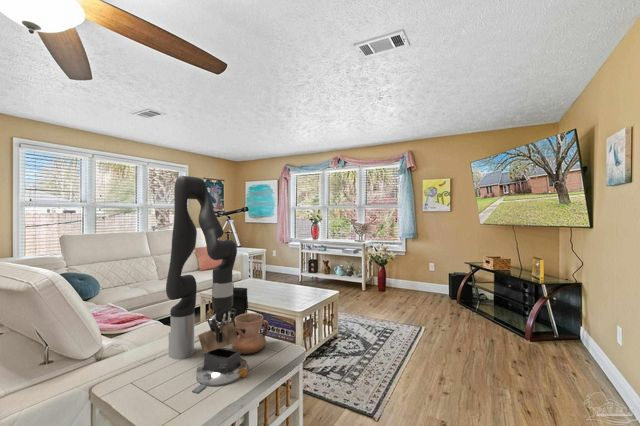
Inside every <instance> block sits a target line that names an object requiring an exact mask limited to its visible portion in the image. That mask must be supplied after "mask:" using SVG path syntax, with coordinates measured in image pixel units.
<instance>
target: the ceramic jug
mask: <svg viewBox="0 0 640 426" xmlns="http://www.w3.org/2000/svg"><path fill="white" fill-rule="evenodd" d="M262 325H264V329H263V333H262V334H261V333H260V331H261V328H262ZM235 326H236V327H235V330H236V331H237V332H238V333H239V335H238V339H239V341H237V342H235V343H234V344H231V348H232V349H231V350H236V351H241V355H243V354H244V355H249V354H250V355H252V354H254V353H257V352H260V351H261V350H262V349H264V348H265V346H266V343H267V340H266V336H267V333H268V330H269V322H268V320H265V319H264V316H263V314H261V313H257V312H249V313H248V312H247V313H246V314H241V315H239V316H237V317H235Z"/></svg>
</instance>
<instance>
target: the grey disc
mask: <svg viewBox="0 0 640 426" xmlns="http://www.w3.org/2000/svg"><path fill="white" fill-rule="evenodd" d="M241 355H242V354H241V351H236V350H233V349H230V348H227V347H222V348H219V349H216V350H213V351H210V352H207V353H203V362H202V364H198V365H197V367H196V371H195V372H196V373H195V374H196V375H195V376H196V377H195V378H196V381H197V382H198V383H199V384H200V385H201V384H202V385H206V386H208V387H219V386H226V385H229V384H232V383H235V382H236V381H239V380H240V379H242V378H245V377H247V375H248V361H246V360H245V359H244V358H242V357H241Z"/></svg>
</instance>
